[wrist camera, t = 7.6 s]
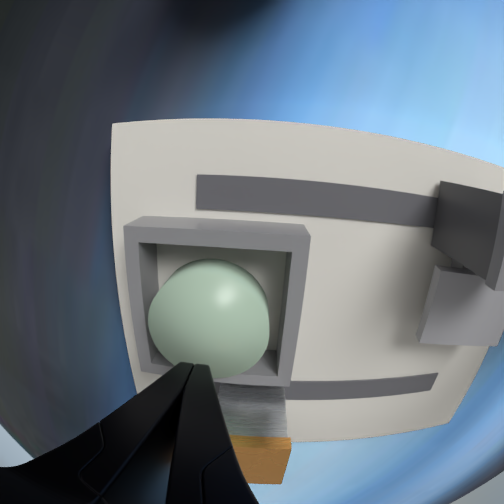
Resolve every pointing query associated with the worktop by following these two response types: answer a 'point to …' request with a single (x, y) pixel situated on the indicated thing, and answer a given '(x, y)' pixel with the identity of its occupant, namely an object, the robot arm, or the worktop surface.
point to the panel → (301, 259)
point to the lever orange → (257, 430)
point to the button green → (211, 317)
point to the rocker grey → (461, 310)
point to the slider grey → (472, 230)
